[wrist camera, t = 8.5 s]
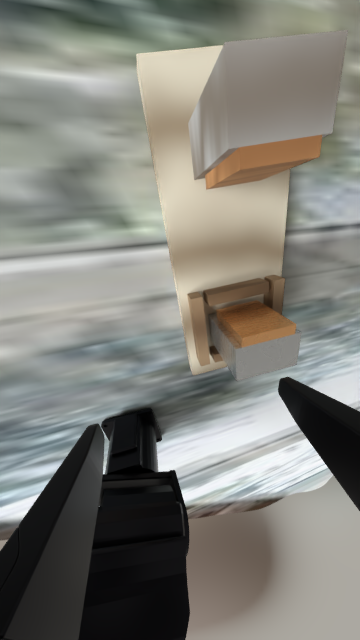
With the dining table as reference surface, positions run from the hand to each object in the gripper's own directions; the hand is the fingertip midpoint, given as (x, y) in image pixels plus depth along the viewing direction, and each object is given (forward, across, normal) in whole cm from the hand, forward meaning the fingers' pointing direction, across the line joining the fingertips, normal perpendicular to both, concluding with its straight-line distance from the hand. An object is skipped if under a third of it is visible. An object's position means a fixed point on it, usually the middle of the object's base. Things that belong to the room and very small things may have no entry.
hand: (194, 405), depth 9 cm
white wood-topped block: (+10, -6, +1) cm, 12 cm away
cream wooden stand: (+11, -6, -5) cm, 14 cm away
